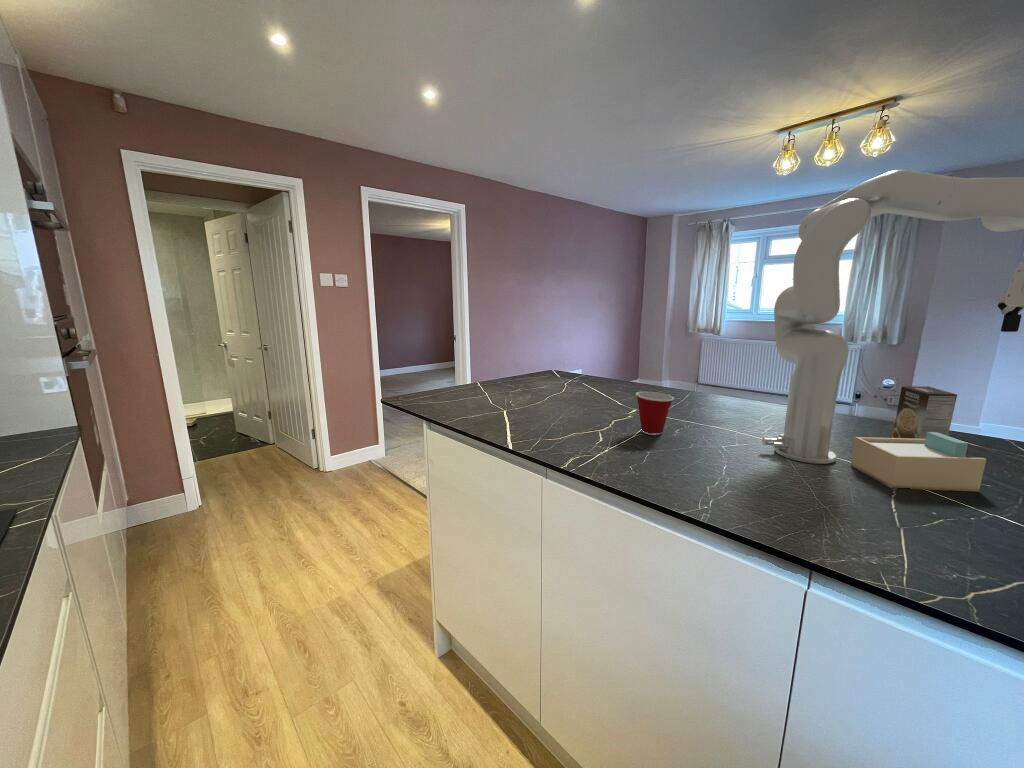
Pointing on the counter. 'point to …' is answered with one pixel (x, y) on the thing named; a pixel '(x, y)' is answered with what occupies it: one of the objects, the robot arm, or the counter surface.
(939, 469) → the box
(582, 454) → the counter surface
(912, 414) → the coffee box
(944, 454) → the lid
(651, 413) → the plastic cup
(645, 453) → the counter surface
